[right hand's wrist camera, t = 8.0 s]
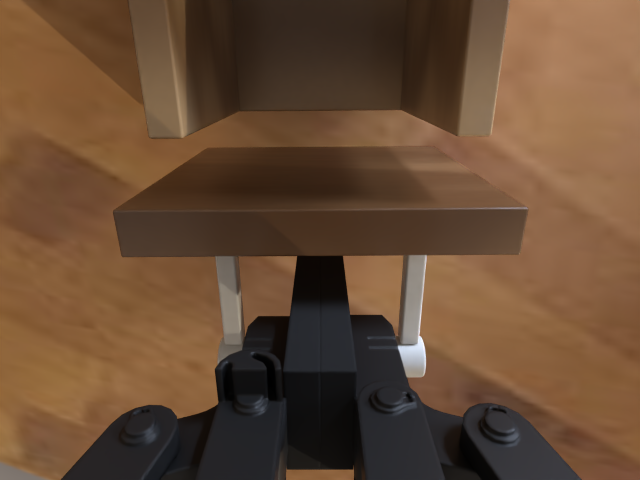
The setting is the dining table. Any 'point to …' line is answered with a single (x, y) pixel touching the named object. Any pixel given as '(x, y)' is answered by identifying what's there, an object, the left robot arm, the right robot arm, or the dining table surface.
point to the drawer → (320, 162)
